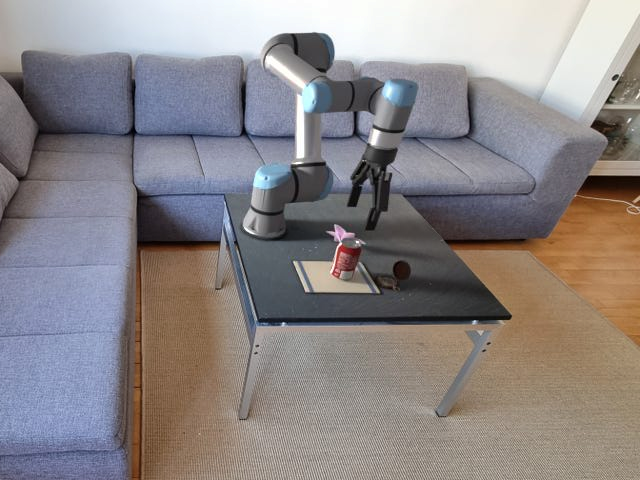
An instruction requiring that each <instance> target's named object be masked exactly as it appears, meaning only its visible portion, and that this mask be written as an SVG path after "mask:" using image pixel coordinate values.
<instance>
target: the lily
mask: <svg viewBox="0 0 640 480" xmlns="http://www.w3.org/2000/svg"><path fill="white" fill-rule="evenodd" d="M325 233H326V234H329V235H331V236H332V237H334V238H333V241H334V242H335V243H336V242H337V243H340V242H341V240H342V239H344V238H353V239H356V240H358V241H359V242H360V243H361V245H367V243H366V242H365V241H363V240H362V239H360V238H358V237H355V236H356V233H354V232H347V231H346V230H345V229H344V228H343V227H341V226H340V225H338V224H334V231H329V230H326V231H325Z"/></svg>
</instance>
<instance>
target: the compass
mask: <svg viewBox="0 0 640 480" xmlns="http://www.w3.org/2000/svg"><path fill="white" fill-rule="evenodd" d="M411 273H412V268H411V265H410V263H408V261H406V260H405V259H401V260H396V261H395V262H394V263H393V265H392V275H393V276H392V275H389V274H379V275H377V276H376V278H375V282H376V283H377V284H378V285H379V286H380V287H382V288H385V289H391V290H394V291H397V292H399V291H400V290H401V289H400V288H399V287H398V286H399V281H406V280H408V279H409V278H410V276H411ZM396 289H397V290H396Z"/></svg>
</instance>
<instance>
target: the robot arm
mask: <svg viewBox="0 0 640 480" xmlns="http://www.w3.org/2000/svg"><path fill="white" fill-rule="evenodd" d="M335 54H336V50H335V43H334V41H333V39H332V38H331V37H330V35H329V34H327V33H325V32H316V31H313V32H283V33H278V34H276V35H273V36H272V37H271V38H270V39H268V40H267V41H266V43H264V45H263V46H262V49H261V51H260V55H259V57H260V59H259V60H260V66H261V67H262V69H263V70H264V72H265V73H266V74H268V75H269V76H270V77H273V78H278V79H279V80H281V81H282V82H283V83H284V84H285V85H286V86H288V87H289V88H290V89H291V90H292V91H293V93H294V159H293V160H292V161H291V162H290V166H289V165H287V164H284V163H278V162H277V163H276V162H274V163H267V164H264V165H262V166H260V167H259V168H258V169H257V170H256V172H255V175H254V179H253V183H252V184H253V185H252V193H251V200H250V208H249V209H248V211H247V213H246V214H245V217H244V219H243V220H242V227H241V228H242V230H243V231H244V233H245V234H246V235H248V236H250V237H252V238H254V239H258V240H263V241H270V240H271V241H272V240H276V239H280V238H282V237H283V236H284V235H285V233H286V229H287V225H286V220H285V213H284V212H285V207H286V205H287V204H298V203H314V202H317V201H319V202H320V201H323V200H325V199H326V198H327V197H328V196H329V194H330V193H331V192H332V189H333V186H334V173H333V170H332V169H331V167H330V166H327V160H326V159H325V158H323V156H322V114H333V113H351V112H367V113H369V114H371V115H373V116H374V120H373V123H372V126H371V128H370V132H369V135H368V139H367V142H368V143H367V144H366V147H365V149H364V153H363V154H362V155H361V158H360V160H359V162H358V163H357V166H356V167H355V169H354V170H353V172H352V173H351V175H350V177H349V180H350V181H351V189H350V193H349V195H348V199H347V203H346V208H357V206H358V203H359V201H360V197H361V194H362V190H363V186H364V183H365V182H366V181H367V180H368V179H369V185H370V186H371V197H372V207H370V208H369V211H368V215H367V217H366V221H365V223H364V227H363V231H364V232H375V230H376V228H377V225H378V222H379V219H380V217H381V214H382V212H384V213H387V212H388V211H389V203H390V202H389V201H390V191H391V182H392V178H393V172H388V171H387V170H388V166H389V165H391V164H393V163H394V162H395V160H396V157H397V154H398V151H399V147H400V146H401V142H402V139H403V137H404V135H405V130H406V128H407V125H408V122H409V120H410V116H411V114H412V111H413V109H414V105H415V104H416V99H417V96H418V92H419V84H418V83H417V82H416V81H414V80H408V79H406V78H405V79H404V78H390V79H388V80H386V81H385V82H384V81H381V80H379V79H378V78H377V77H374V76H373V77H370V76H368V75H367V76H360V77H359V78H357V79H355V80H332V79H331V78H330V77H328V76H327V74H328V73H327V72H328V71H330V69H331V68H332V67H333V65H334V61H335V57H336V55H335Z"/></svg>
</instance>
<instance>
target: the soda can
mask: <svg viewBox="0 0 640 480" xmlns="http://www.w3.org/2000/svg"><path fill="white" fill-rule="evenodd" d="M361 253H362V244H361V243H360V242H359V241H358V240H356V239H353V238H344V239H342V240H341V242H338V244H337V246H336V250H335V252H334V256H333V258H332V259H333V260H332V262H333V263H332V266H331V270H330V273H331V275H332V276H334V277H335V278H337V279H340V280H349V279H351V278H352V277H353V275H354V272H355V269H356V266H357V263H358V262H359V259H360V257H361Z"/></svg>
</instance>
